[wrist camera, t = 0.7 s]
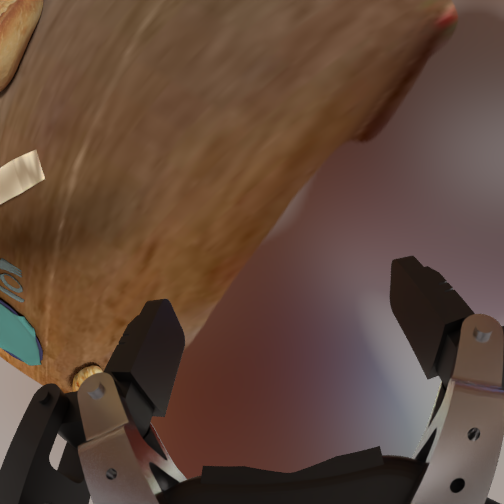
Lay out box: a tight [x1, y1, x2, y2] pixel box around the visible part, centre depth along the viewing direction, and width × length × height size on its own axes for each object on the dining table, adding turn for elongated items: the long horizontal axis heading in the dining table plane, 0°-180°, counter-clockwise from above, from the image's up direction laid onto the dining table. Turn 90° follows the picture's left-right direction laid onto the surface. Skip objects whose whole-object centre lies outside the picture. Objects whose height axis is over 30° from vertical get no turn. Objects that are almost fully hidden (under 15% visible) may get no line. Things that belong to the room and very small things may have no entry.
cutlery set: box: [0, 258, 43, 365], centre depth 38 cm, size 20×30×2 cm, turn 154°
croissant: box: [72, 365, 103, 392], centre depth 47 cm, size 21×10×8 cm, turn 154°
